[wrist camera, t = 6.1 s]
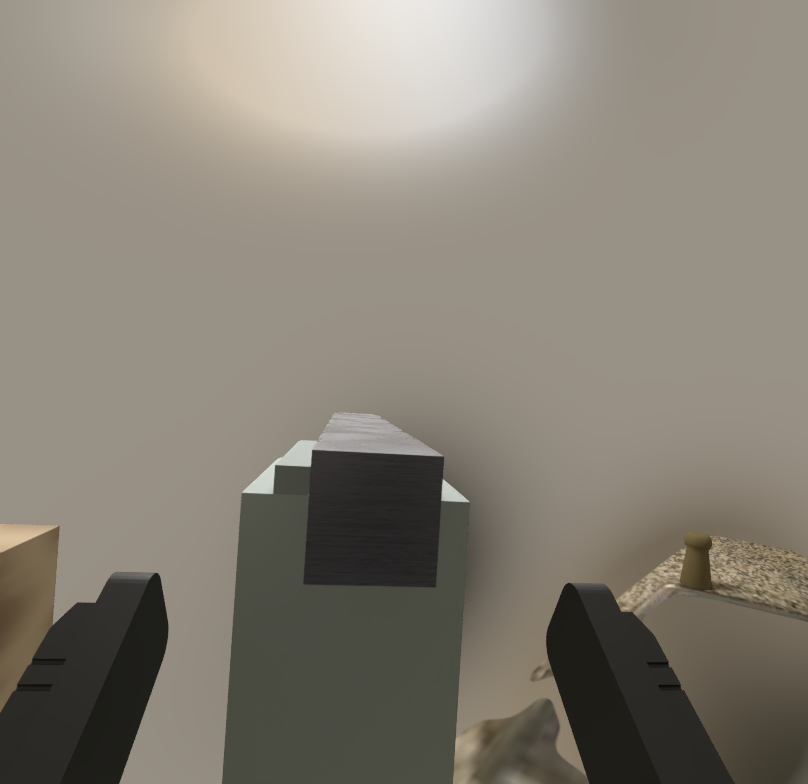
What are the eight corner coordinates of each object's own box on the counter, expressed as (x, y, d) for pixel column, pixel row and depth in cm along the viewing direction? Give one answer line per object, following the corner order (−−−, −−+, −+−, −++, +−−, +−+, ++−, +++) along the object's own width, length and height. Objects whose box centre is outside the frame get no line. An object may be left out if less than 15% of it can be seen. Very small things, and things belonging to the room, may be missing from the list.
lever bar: (332, 453, 31) (334, 412, 31) (373, 455, 32) (375, 414, 32) (303, 584, 10) (312, 450, 10) (435, 587, 10) (444, 456, 10)
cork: (677, 584, 110) (680, 532, 110) (682, 577, 115) (685, 528, 115) (709, 592, 106) (712, 538, 106) (713, 585, 111) (716, 533, 111)
